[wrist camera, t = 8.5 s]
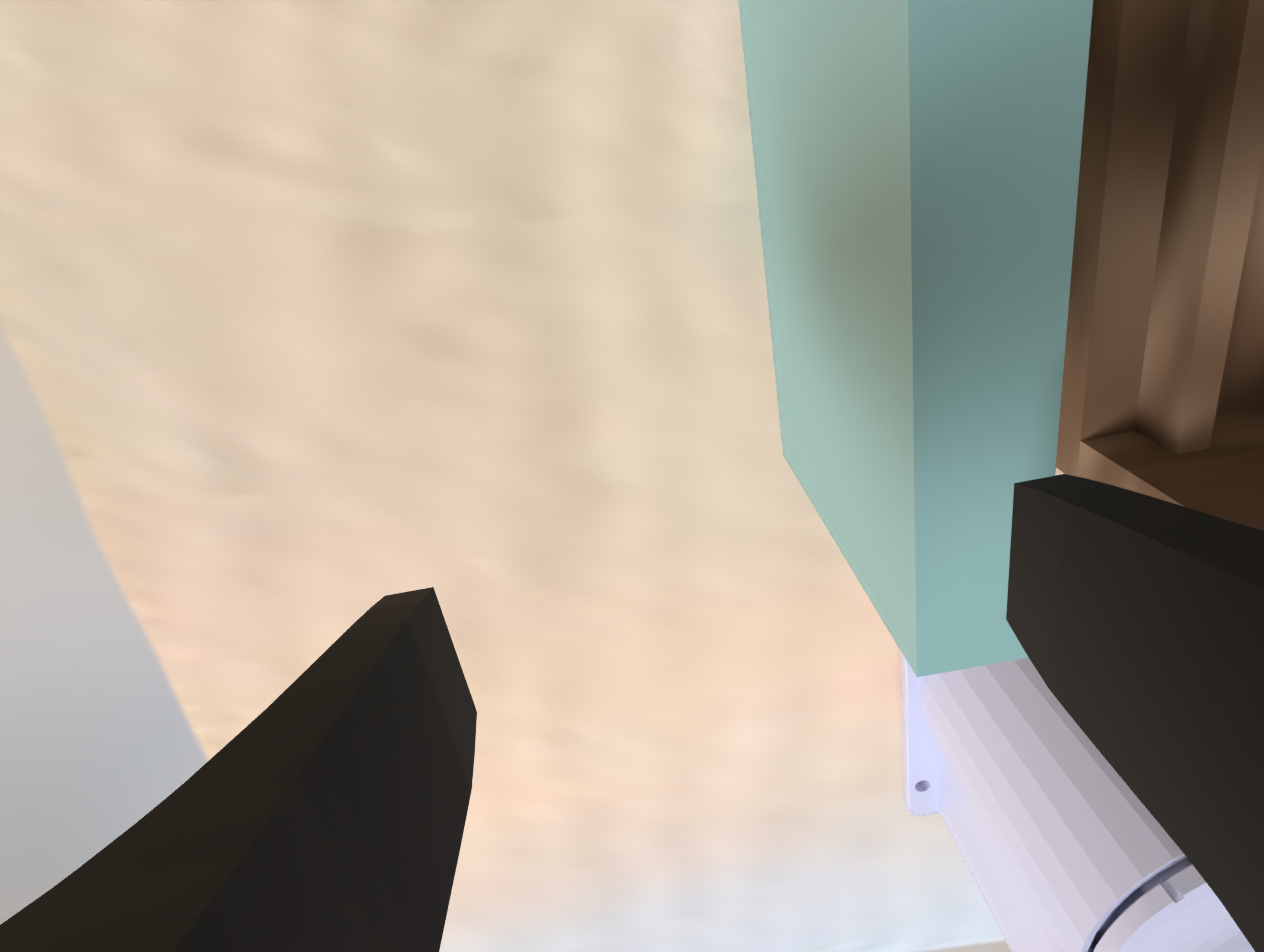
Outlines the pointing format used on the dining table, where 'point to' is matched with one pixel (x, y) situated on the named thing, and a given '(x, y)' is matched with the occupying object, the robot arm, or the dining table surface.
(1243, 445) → the walnut rack
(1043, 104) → the teal sheet
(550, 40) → the dining table surface
